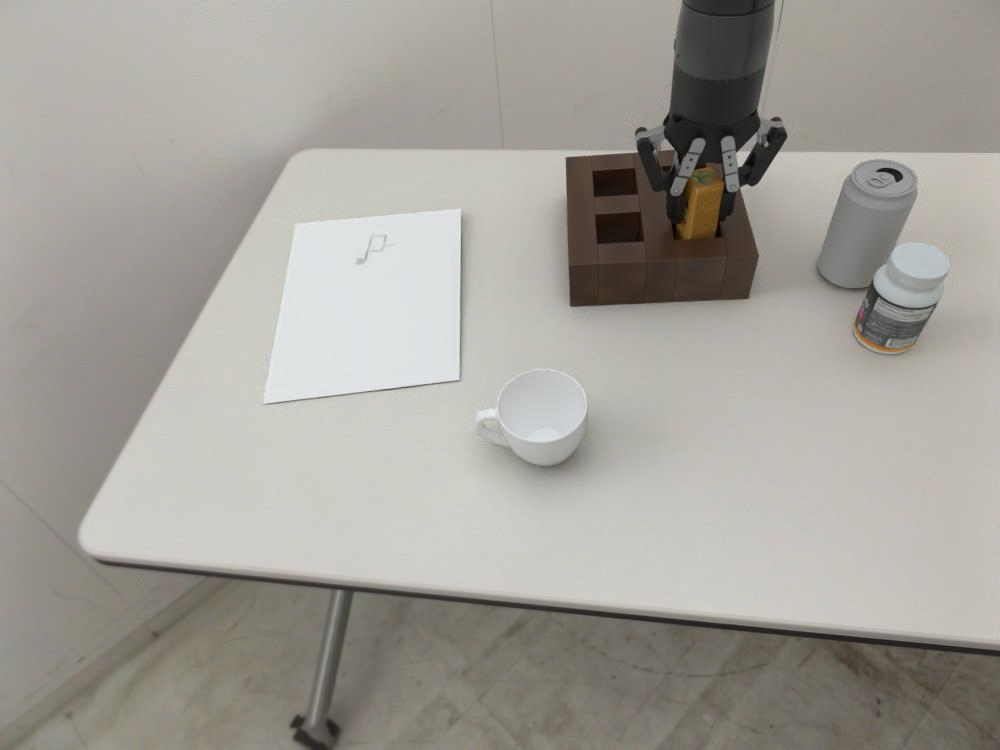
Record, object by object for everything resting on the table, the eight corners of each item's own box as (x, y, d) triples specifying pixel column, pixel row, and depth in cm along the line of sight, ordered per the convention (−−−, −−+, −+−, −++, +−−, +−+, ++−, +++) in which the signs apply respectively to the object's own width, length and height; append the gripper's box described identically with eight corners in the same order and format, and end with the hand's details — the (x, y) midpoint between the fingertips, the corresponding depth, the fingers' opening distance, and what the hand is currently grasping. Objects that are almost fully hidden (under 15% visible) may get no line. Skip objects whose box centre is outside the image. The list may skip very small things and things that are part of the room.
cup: (591, 481, 60) (590, 440, 55) (478, 486, 61) (467, 445, 56) (585, 410, 65) (584, 365, 60) (481, 415, 66) (471, 371, 61)
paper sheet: (482, 212, 85) (481, 205, 84) (457, 408, 68) (456, 402, 67) (300, 219, 88) (297, 212, 87) (233, 408, 71) (229, 402, 70)
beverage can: (894, 273, 72) (938, 177, 62) (852, 302, 70) (892, 207, 61) (842, 243, 75) (877, 147, 66) (802, 269, 74) (832, 175, 64)
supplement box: (714, 260, 74) (727, 182, 66) (684, 270, 73) (694, 192, 65) (700, 242, 76) (711, 164, 68) (671, 250, 75) (678, 173, 68)
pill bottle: (862, 306, 69) (895, 229, 62) (923, 327, 67) (965, 249, 59) (843, 343, 67) (875, 267, 59) (905, 366, 64) (947, 290, 57)
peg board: (721, 189, 83) (728, 145, 79) (748, 298, 72) (759, 255, 67) (567, 198, 85) (565, 156, 81) (570, 306, 74) (568, 265, 69)
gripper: (637, 83, 56) (630, 246, 69) (821, 68, 54) (777, 237, 67) (630, 39, 60) (625, 199, 74) (799, 23, 59) (762, 190, 72)
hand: (698, 217), depth 70 cm, fingers closed on supplement box, 3 cm apart
